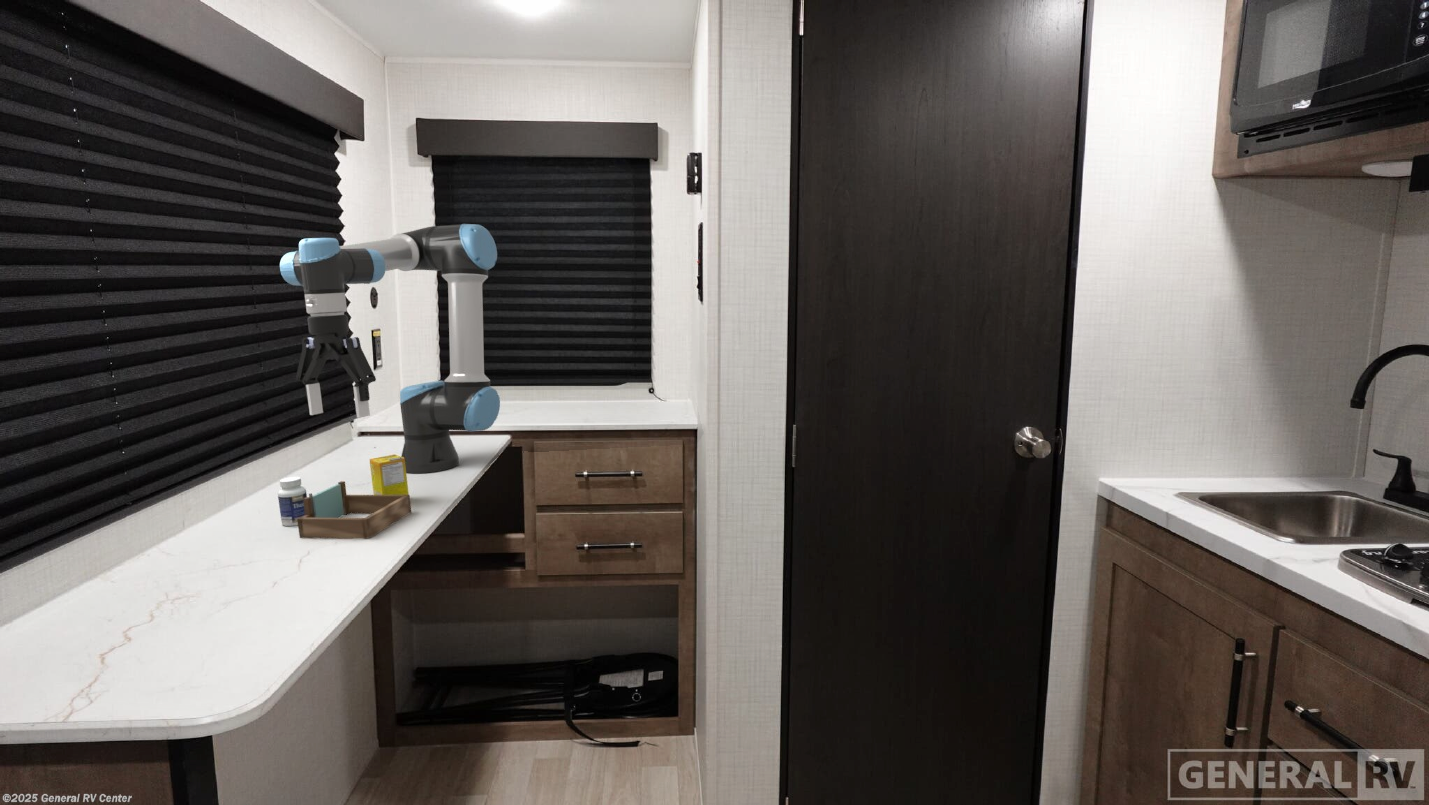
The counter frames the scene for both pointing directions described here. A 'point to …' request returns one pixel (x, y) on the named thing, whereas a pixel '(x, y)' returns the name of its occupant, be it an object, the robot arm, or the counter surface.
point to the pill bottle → (291, 500)
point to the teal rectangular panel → (328, 503)
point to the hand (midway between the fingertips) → (339, 415)
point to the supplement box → (389, 475)
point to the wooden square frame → (382, 516)
